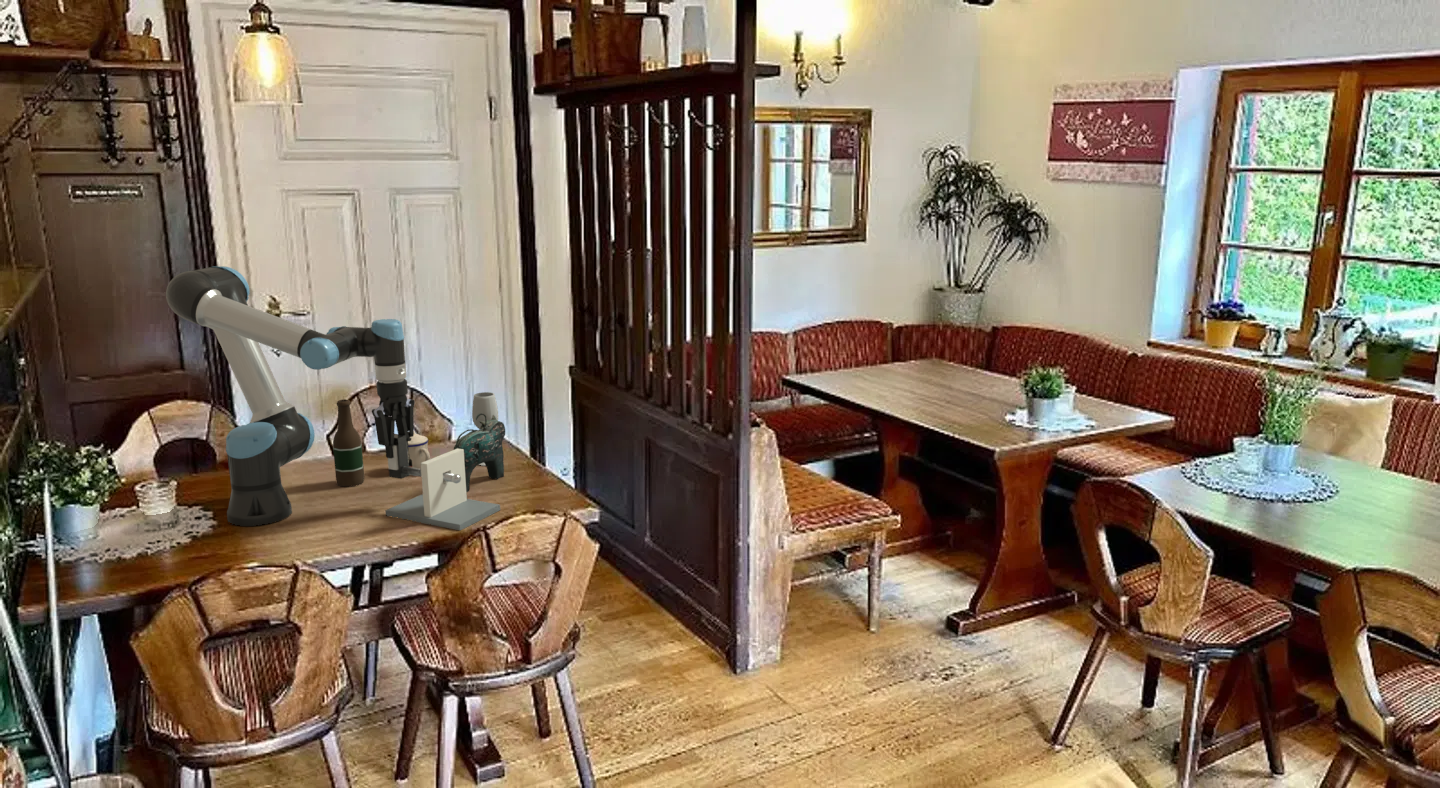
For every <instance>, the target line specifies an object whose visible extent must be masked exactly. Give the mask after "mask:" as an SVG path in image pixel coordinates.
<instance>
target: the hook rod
mask: <svg viewBox="0 0 1440 788" xmlns="http://www.w3.org/2000/svg"><path fill="white" fill-rule="evenodd" d="M388 441H389V440H388ZM394 445H397V457H398V470H392V469H388V474H389V478H393V479H400V480H402V479H404V478H407V477H409V476H414V477H421V478H422V476H421V469H419V468H413V467H409V466H408V453H407V440H406V435H400V434H398V433H394ZM443 481H449V482H453V483H459V482H460V481H461V476H460V475H458V474H449V473H443Z"/></svg>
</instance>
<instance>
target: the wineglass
mask: <svg viewBox="0 0 1440 788" xmlns="http://www.w3.org/2000/svg"><path fill="white" fill-rule="evenodd" d="M497 404H498V403H497V400H496V395H495V393H494V392H489V391H487V392H486V391H485V392H483V391H482V392H476V393H474V394H473V399H472V409H471V417H472V418H471V419H472V423H473V425H474V426H475V427H476V428H477V430H480V427H481V425H482V424H481V423H480V422H479V421H483V422H485V417H484V415H485V416H486V420H491V419H492V416H493V415H494V416H495V418H496V419H497V420H498V421H499V410H498V409H499V408H498V405H497ZM480 413H482V414H484V415H480V416H479V417H478V419H477V420H476V416H477V415H478V414H480ZM479 465H481V466H480V467H486V465H485V463H481V464H479ZM479 465H478V466H479Z"/></svg>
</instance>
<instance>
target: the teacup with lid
mask: <svg viewBox="0 0 1440 788" xmlns="http://www.w3.org/2000/svg"><path fill="white" fill-rule="evenodd" d="M408 432H409V431H408ZM410 438H411V441H408V448H409V451H408V464H409V467H413V468H419V469H421V463H422V462H425V461H427V460H430V459H431V455H430V454H431V453H430V452H429V444H428V443H429V439H428V437H427V436H424V435H421V434H418V433H416V431H415V430H414V435H413V437H410Z"/></svg>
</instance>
